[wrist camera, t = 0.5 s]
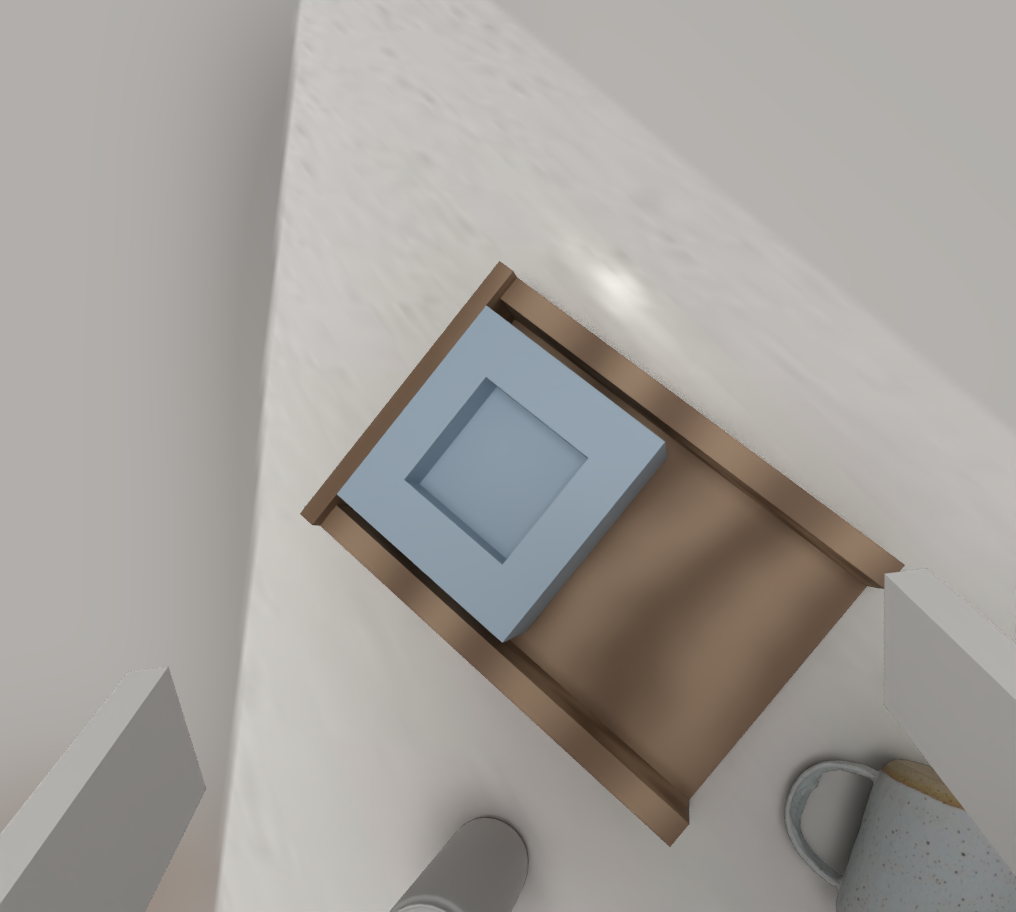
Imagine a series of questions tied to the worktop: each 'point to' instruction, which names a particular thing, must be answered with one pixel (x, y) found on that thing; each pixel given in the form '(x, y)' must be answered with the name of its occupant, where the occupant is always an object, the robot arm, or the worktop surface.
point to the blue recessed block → (503, 475)
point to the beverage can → (471, 872)
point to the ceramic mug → (908, 846)
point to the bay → (643, 584)
